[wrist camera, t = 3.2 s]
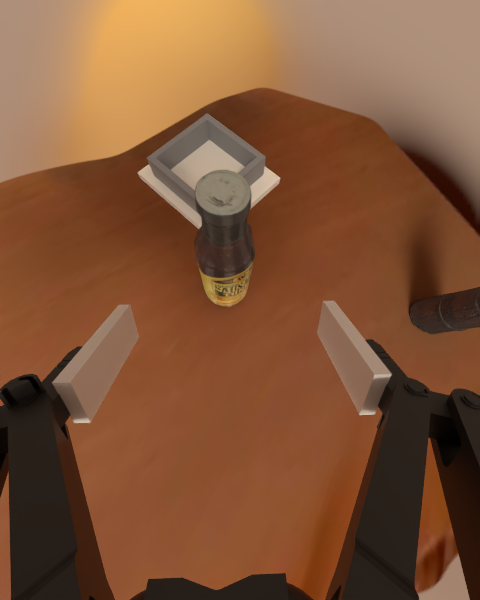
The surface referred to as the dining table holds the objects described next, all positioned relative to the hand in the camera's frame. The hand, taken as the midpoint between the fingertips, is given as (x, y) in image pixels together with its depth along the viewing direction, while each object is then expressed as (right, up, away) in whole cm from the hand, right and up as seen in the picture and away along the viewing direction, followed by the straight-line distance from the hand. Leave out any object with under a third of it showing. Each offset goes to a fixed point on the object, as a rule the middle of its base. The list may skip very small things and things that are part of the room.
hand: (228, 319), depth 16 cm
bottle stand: (-4, +22, +24) cm, 33 cm away
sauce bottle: (-1, +3, +19) cm, 19 cm away
